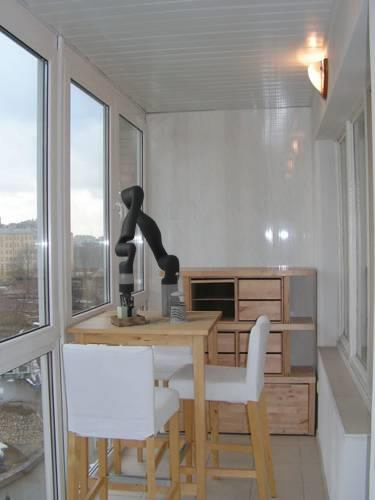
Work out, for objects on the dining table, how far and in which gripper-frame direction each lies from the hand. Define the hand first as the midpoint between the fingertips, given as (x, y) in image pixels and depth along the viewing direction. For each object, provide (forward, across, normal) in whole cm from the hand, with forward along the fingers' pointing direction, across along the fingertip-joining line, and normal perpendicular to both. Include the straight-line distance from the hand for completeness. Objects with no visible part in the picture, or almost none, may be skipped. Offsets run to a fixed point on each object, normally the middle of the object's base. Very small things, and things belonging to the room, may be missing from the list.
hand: (127, 316), depth 274 cm
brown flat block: (+4, 0, 0) cm, 4 cm away
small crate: (+1, 0, 0) cm, 1 cm away
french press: (+4, -7, -24) cm, 26 cm away
